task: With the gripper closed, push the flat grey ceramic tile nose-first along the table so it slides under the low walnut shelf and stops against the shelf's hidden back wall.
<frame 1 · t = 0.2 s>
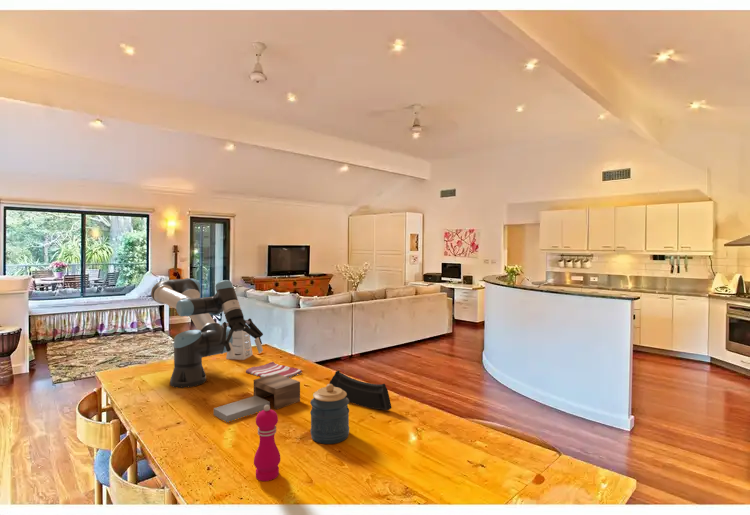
hand: (247, 354, 186), 16 cm above the table, tool tilted 35°, fingers open, 13 cm apart
dish towel: (274, 374, 211), on the table
tile: (242, 412, 163), on the table
canister: (329, 436, 143), on the table
grater: (239, 357, 240), on the table
magazine: (358, 403, 172), on the table
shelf: (275, 400, 174), on the table
pepper mill: (267, 475, 119), on the table
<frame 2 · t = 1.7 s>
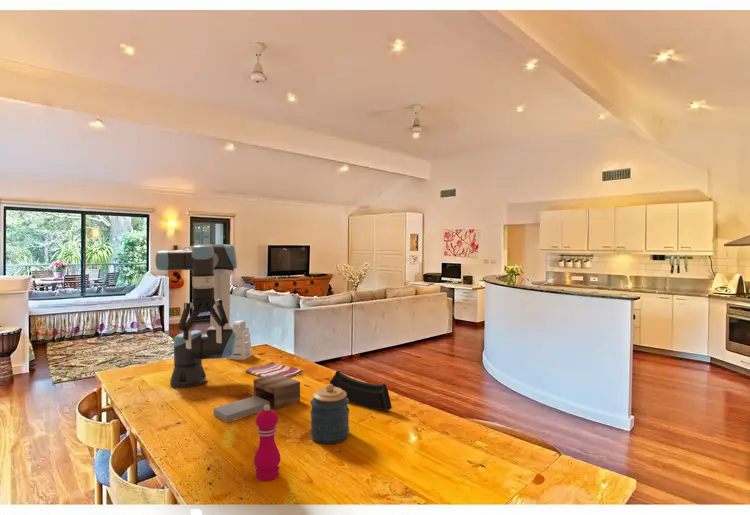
hand: (204, 345, 159), 26 cm above the table, tool pointing down, fingers open, 11 cm apart
nothing on the table moved.
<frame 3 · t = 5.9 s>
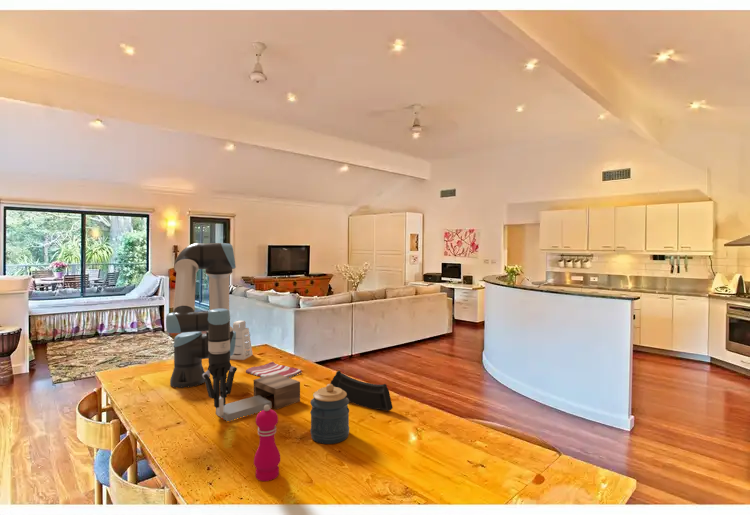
hand: (219, 415, 156), 1 cm above the table, tool pointing down, fingers closed
tile: (244, 411, 164), on the table, touching gripper
everything else where it was.
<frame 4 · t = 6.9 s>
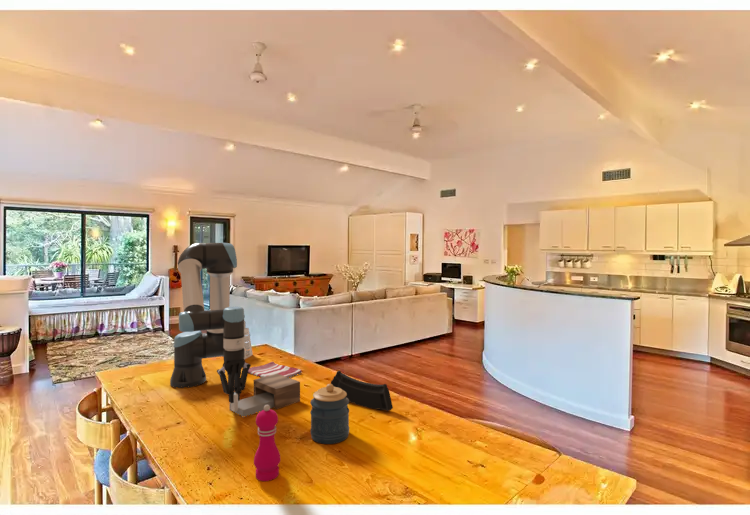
hand: (234, 410, 161), 1 cm above the table, tool pointing down, fingers closed
tile: (257, 407, 168), on the table
everything else where it was.
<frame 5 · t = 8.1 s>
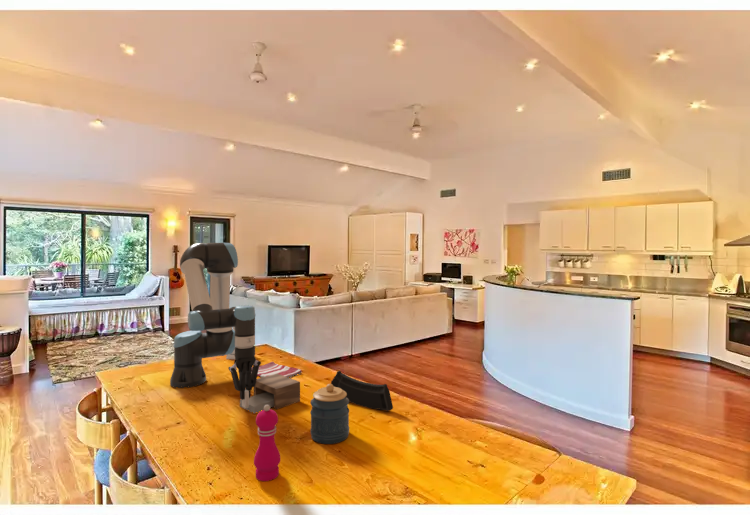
hand: (245, 406, 164), 1 cm above the table, tool pointing down, fingers closed
tile: (266, 404, 172), on the table, touching gripper, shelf
everything else where it was.
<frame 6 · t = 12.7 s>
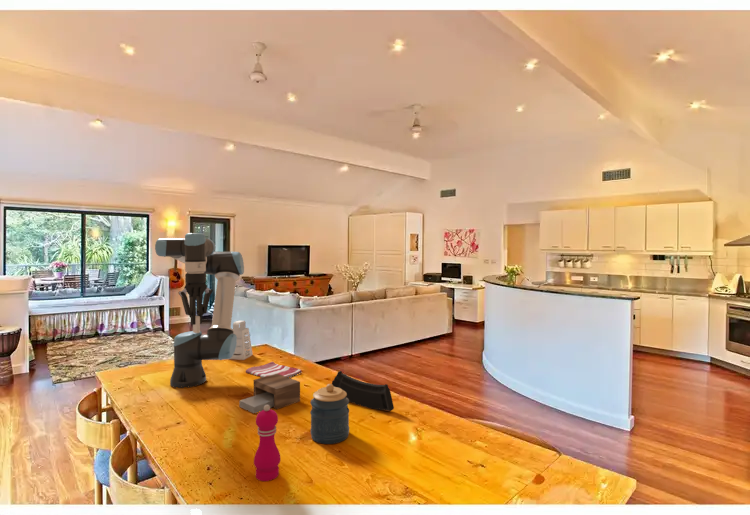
hand: (196, 332, 167), 29 cm above the table, tool pointing down, fingers closed
tile: (266, 404, 171), on the table
at the end: tile 0.4 cm from the target spot on the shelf, point -0.6 cm above the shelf's base; tile tilted 0° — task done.
